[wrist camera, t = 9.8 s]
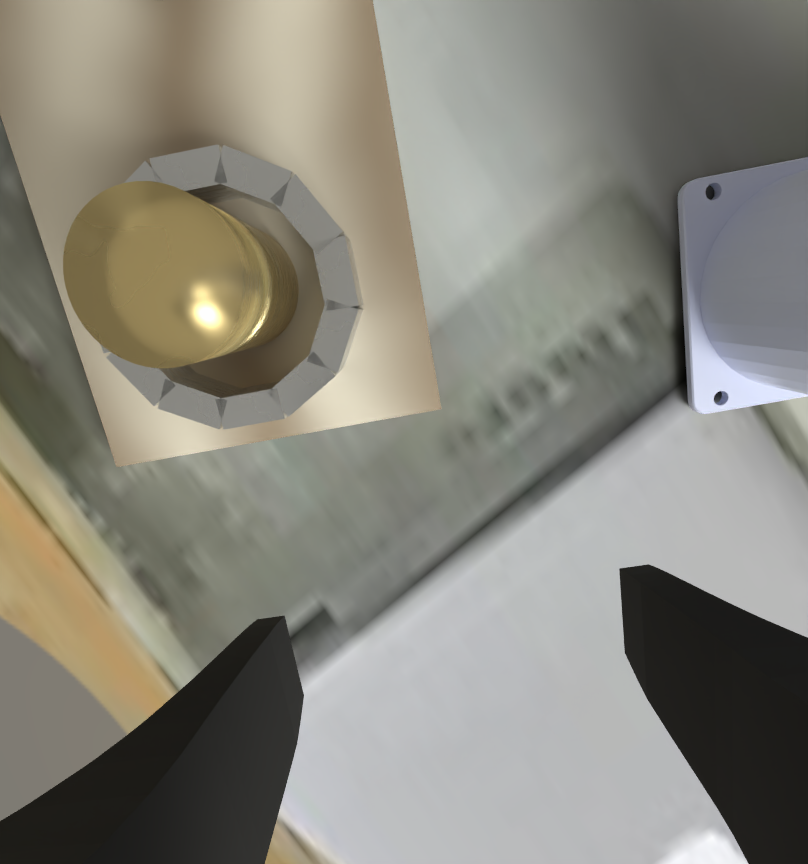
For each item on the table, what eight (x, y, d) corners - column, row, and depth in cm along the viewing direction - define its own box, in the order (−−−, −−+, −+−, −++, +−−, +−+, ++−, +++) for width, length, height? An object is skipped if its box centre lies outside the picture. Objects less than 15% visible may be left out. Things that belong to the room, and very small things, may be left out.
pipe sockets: (277, -137, 15) (252, -226, 12) (380, 391, 18) (377, 405, 16) (7, -75, 15) (-70, -149, 12) (161, 431, 19) (124, 450, 16)
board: (323, -282, 15) (317, -325, 14) (439, 403, 19) (441, 409, 18) (-77, -186, 15) (-110, -220, 14) (130, 459, 20) (116, 467, 19)
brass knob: (291, 220, 17) (229, 174, 11) (305, 344, 18) (254, 362, 12) (169, 229, 17) (44, 187, 11) (190, 352, 18) (83, 373, 12)
